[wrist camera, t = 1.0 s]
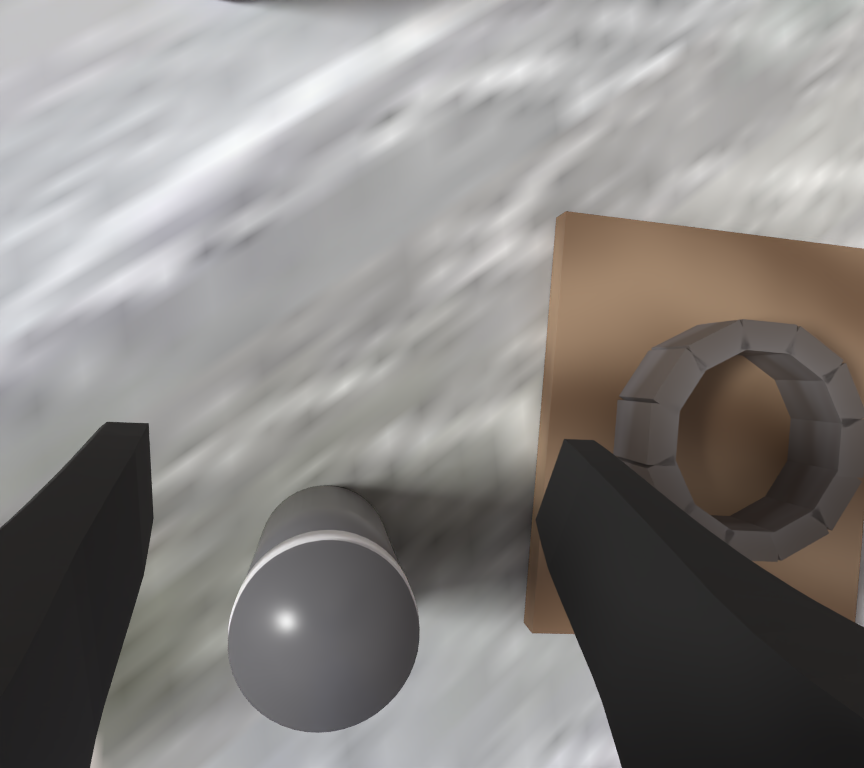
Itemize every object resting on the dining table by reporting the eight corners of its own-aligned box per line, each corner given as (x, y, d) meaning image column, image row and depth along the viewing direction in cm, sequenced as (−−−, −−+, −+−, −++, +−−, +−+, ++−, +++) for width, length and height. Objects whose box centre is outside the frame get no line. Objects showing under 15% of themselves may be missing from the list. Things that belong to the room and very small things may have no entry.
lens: (383, 612, 24) (413, 733, 16) (253, 610, 23) (217, 735, 15) (392, 487, 24) (428, 545, 16) (263, 480, 23) (233, 538, 15)
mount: (834, 628, 27) (909, 666, 23) (523, 622, 25) (557, 663, 21) (865, 256, 27) (946, 238, 23) (556, 217, 24) (595, 192, 21)
